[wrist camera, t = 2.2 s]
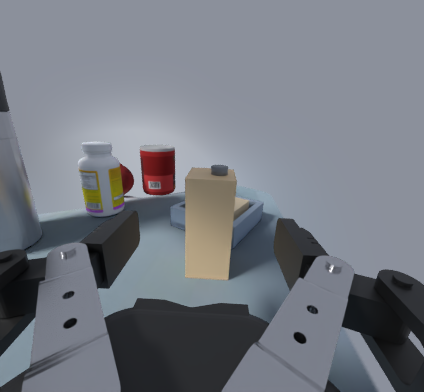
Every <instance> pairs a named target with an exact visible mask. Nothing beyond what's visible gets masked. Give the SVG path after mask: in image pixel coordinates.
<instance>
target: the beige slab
mask: <svg viewBox="0 0 424 392" xmlns="http://www.w3.org/2000/svg"><path fill="white" fill-rule="evenodd" d="M249 201H250V200H246V199H241V198H237V197H235V207H234V218H233V221H234V220H236V219H237V218H238V217H239V216H241V215H242V214H243V213H244V212H246V211H247V210H248V209H249Z"/></svg>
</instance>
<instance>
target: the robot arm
mask: <svg viewBox="0 0 424 392" xmlns="http://www.w3.org/2000/svg"><path fill="white" fill-rule="evenodd" d="M8 111H9V107H8V103H7V99H6V95H5V90H4V85H3V81H2V76H1V73H0V356H1V355H2V354H3V353H4V352H5V351H6V349H7V348H8V347H9V346H10V345H11V344H12V343H13V342H14V340H15V339H16V338H17V337H18V336H19V335H20V334H21V333H22V331H23V330H24V329H25V328H26V327H27V326H28V325H29V324H30V322H31V321H32V320H33V319H34V318H35V326H34V335H33V344H32V353H31V362H30V367H29V368H28V369H27V370H25V371H24V372H22V373H21V374H19V375H18V376H16V377H15V378H13V379H12V380H10V381H9V382H7V383H6V384H5V385H3V386H2V387H0V392H340V391H339V390H338V389H337V388H336V387H335V386H334V385H333V384H332V383H331V382H330V381H329V380H328V376H329V372H330V368H331V364H332V360H333V357H334V353H335V349H336V345H337V341H338V337H339V333H340V329H341V326H342V327H345V328H348V329H351V330H354V331H357V332H360V333H361V335H362V336H363V338H364V340H365V342H366V343H367V345H368V346H369V348H370V350H371V351H372V353H373V355H374V356H375V358H376V360H377V361H378V363H379V365H380V366H381V368H382V370H383V371H384V373H385V375H386V376H387V378H388V380H389V381H390V383H391V385H392V386H393V388H394V390H395V391H396V392H424V357H423V355H422V354H421V353H420V351H419V350H418V349H417V348H416V347H415V345H414V344H413V343H412V342H411V341H410V339H409V338H408V336H409V334H410V331H412V332H413V333H414V334H415V336H416V337H417V338H418V339H419V340H420V342H421V344H422V346H423V348H424V285H423V284H422V283H420V282H419V281H417V280H416V279H414V278H412V277H410V276H408V275H406V274H404V273H401V272H398V271H393V270H381V271H379V273H378V276H377V278H376V279H373V278H369V277H365V276H361V275H357V274H354V270H353V268H352V267H351V266H350V265H349V264H347V263H346V262H344V261H343V260H341V259H338V258H335V257H332V256H329V255H328V254H327V253H326V251H325V250H324V249H323V248H322V247H321V245H320V244H318V242H317V240H316V239H314V237H313V236H312V234H311V233H310V232H308V231H307V230H305V229H303V228H299V226H298V225H297V224H296V222H295V221H294V220H293V219H285V218H279V219H278V221H277V226H276V232H275V239H274V253H275V256H276V258H277V261H278V263H279V265H280V268H281V270H282V273H283V275H284V277H285V280H286V282H287V285H288V287H289V290H290V292H289V294H288V296H287V297H286V299H285V300H284V302H283V304H282V305H281V307H280V308H279V310H278V311H277V313H276V315H275V316H274V318H273V319H272V321H271V323H270V324H269V323H267V322H266V321H264V320H262V319H260V318H258V317H256V316H253V315H250V314H249V310H248V305H244V304H227V303H218V304H212V305H205V306H199V307H187V306H184V305H180V304H177V303H173V302H170V301H167V300H159V299H142V298H137V301H136V303H135V305H134V307H133V308H128V309H124V310H121V311H118V312H115V313H113V314H111V315H109V316H107V317H105V318H104V315H103V311H102V307H101V302H100V298H99V294H98V290H97V289H98V288H107V289H109V288H110V286H111V285H112V283H113V282H114V281H115V279H116V278H117V276H118V275H119V273H120V272H121V270H122V269H123V267H124V266H125V264H126V263H127V261H128V260H129V259H130V257H131V256H132V254H133V253H134V251H135V250H136V248H137V247H138V245H139V241H140V231H139V220H138V213H137V212H136V211H121V212H120V213H119V214H118V215H117V216H115V217H114V218H112V219H110V220H108V221H105V222H104V223H102V224H101V225H100V226H99V227H98V228H96V229H95V230H94V231H93V232H92V233H90V234H89V235H88V236H87V237H86V238H84V239H83V240H82V241H81V242H80V243H69V244H65V245H62V246H59V247H57V248H55V249H53V250H52V251H51V252H50V253H49V254H48V255H47V257H46V258H39V259H31V260H28V258H27V254H26V252H25V251H24V249H25V248H27V247H29V246H31V245H32V244H34V243H35V242H37V241H38V240H39V239H40V238H41V236H42V229H41V226H40V222H39V218H38V214H37V211H36V207H35V203H34V199H33V196H32V192H31V188H30V184H29V181H28V177H27V173H26V170H25V166H24V162H23V158H22V155H21V151H20V147H19V144H18V140H17V137H16V133H15V130H14V126H13V122H12V118H11V114H10V112H8Z"/></svg>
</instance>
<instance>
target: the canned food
mask: <svg viewBox="0 0 424 392" xmlns="http://www.w3.org/2000/svg"><path fill="white" fill-rule="evenodd" d="M140 157H141V170H142V182H143V189H144V192H145V193H147V194H150V195H166V194H170V193H172V192H173V191H174V189H175V149H174V147H173V146H168V145H144V146H141V147H140Z"/></svg>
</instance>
